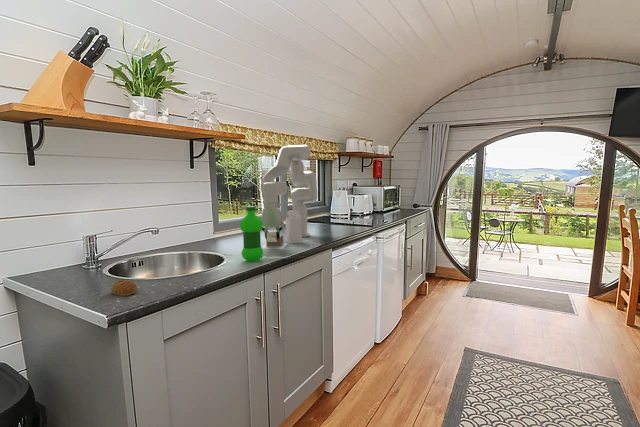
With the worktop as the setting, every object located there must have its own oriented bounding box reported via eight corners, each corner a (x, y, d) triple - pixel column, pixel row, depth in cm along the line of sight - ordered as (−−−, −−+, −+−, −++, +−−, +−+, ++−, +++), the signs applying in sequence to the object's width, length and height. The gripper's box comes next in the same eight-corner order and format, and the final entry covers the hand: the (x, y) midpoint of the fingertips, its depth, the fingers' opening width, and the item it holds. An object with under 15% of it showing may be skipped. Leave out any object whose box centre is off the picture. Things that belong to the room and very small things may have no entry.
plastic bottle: (236, 261, 155) (234, 207, 152) (251, 257, 164) (249, 205, 161) (254, 264, 150) (252, 207, 148) (268, 259, 159) (266, 206, 157)
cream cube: (268, 240, 185) (268, 231, 184) (278, 240, 184) (277, 231, 184) (266, 242, 180) (266, 232, 179) (276, 241, 180) (275, 232, 179)
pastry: (143, 292, 114) (142, 281, 113) (122, 298, 108) (121, 287, 108) (129, 288, 119) (128, 277, 119) (108, 293, 114) (107, 282, 113)
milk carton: (286, 243, 200) (285, 211, 198) (297, 242, 202) (296, 210, 201) (290, 245, 193) (289, 211, 191) (302, 244, 196) (301, 211, 194)
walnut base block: (269, 243, 194) (269, 234, 194) (283, 243, 194) (283, 234, 193) (266, 246, 186) (266, 237, 186) (280, 246, 186) (280, 237, 185)
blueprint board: (265, 245, 195) (265, 243, 195) (287, 244, 194) (287, 243, 194) (258, 250, 179) (258, 248, 179) (283, 250, 178) (283, 248, 178)
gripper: (288, 204, 183) (289, 237, 185) (257, 205, 184) (258, 238, 186) (285, 206, 176) (287, 240, 178) (253, 206, 177) (255, 241, 179)
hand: (272, 239), depth 182 cm, fingers closed on cream cube, 5 cm apart
